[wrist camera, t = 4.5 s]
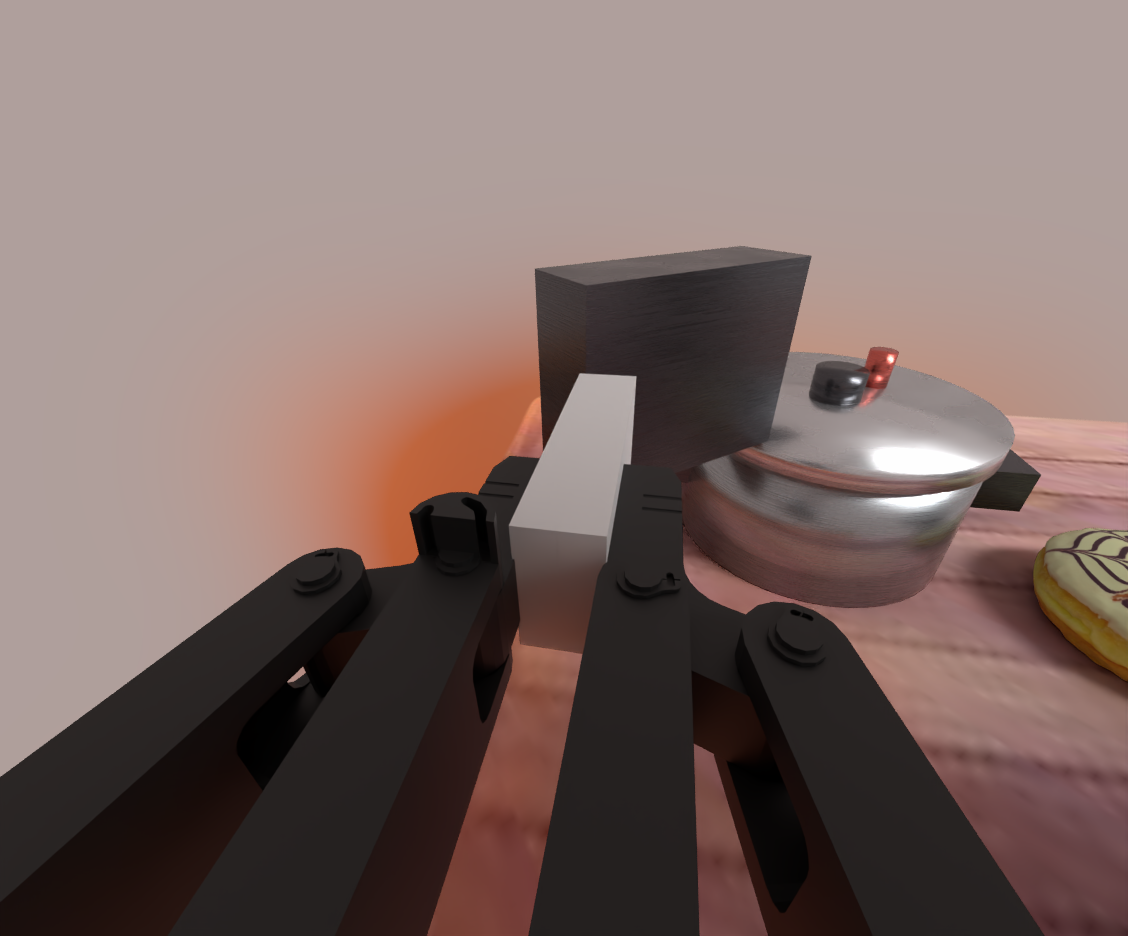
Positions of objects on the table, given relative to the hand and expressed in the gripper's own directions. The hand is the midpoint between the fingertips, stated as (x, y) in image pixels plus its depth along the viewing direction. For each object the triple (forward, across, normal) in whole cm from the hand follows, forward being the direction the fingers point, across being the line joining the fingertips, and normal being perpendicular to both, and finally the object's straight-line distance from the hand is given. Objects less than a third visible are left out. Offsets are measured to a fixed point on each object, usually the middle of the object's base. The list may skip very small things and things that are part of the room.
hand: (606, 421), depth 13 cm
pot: (+15, +8, -14) cm, 22 cm away
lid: (+12, +7, -6) cm, 16 cm away
